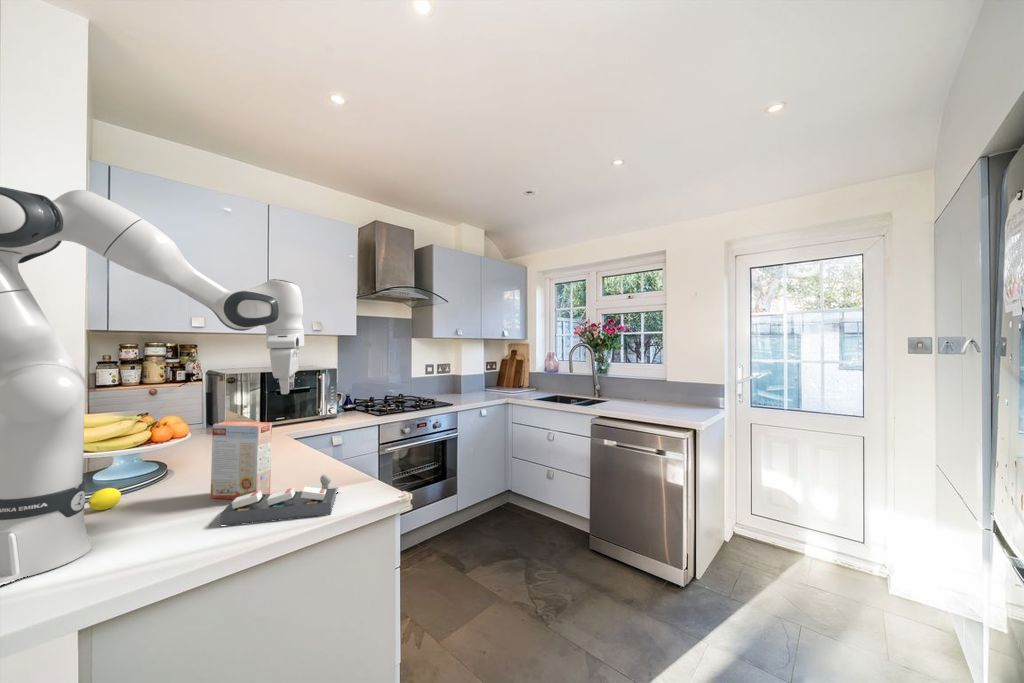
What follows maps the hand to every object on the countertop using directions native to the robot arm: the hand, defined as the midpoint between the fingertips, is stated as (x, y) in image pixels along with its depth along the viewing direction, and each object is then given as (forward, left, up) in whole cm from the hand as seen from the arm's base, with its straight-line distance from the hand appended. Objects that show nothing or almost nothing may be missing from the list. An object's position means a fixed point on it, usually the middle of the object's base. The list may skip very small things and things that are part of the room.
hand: (287, 391), depth 104 cm
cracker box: (-13, +11, -31) cm, 36 cm away
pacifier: (+10, +6, -31) cm, 33 cm away
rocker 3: (+8, -6, -26) cm, 28 cm away
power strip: (+1, -4, -31) cm, 31 cm away
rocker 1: (-7, -6, -26) cm, 28 cm away
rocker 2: (+1, -6, -26) cm, 27 cm away
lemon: (-43, +10, -31) cm, 54 cm away
